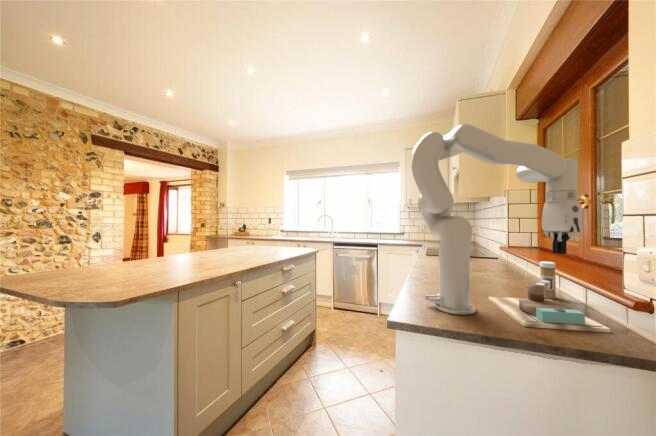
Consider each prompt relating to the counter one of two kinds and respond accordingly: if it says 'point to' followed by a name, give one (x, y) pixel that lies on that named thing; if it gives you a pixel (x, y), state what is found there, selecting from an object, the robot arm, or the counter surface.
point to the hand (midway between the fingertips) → (559, 253)
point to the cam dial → (539, 297)
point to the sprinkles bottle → (548, 272)
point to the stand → (531, 321)
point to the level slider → (560, 316)
